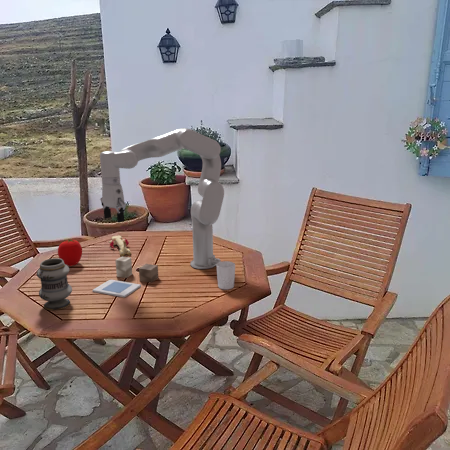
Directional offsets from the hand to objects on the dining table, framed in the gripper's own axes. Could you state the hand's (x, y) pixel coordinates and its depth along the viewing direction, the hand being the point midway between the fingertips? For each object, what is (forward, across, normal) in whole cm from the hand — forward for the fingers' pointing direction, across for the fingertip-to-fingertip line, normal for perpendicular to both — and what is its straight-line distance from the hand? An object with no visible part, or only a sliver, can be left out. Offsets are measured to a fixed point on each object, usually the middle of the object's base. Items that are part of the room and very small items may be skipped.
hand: (114, 219), depth 191 cm
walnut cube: (+27, -12, -7) cm, 31 cm away
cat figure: (+27, +33, -24) cm, 49 cm away
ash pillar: (+27, 0, -3) cm, 27 cm away
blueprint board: (+27, -10, +8) cm, 30 cm away
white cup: (+27, -44, -24) cm, 57 cm away
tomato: (+27, +31, +6) cm, 42 cm away
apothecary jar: (+27, -5, +32) cm, 42 cm away
